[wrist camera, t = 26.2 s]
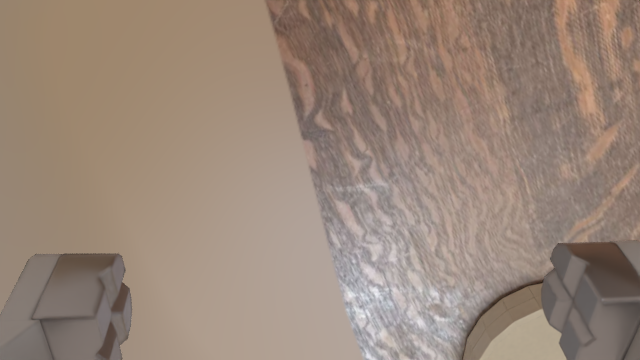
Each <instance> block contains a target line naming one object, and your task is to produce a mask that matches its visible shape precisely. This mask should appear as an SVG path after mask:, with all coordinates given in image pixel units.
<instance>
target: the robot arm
mask: <svg viewBox="0 0 640 360" xmlns="http://www.w3.org/2000/svg"><path fill="white" fill-rule="evenodd" d="M550 260H551V262H552V264H553V265H554V267H555V268H554V269H553V270H552V271H551V272H550V273H548V274H547V275H546V276H545V277H544V281H543V284H542V288H541V304H542V308H543V311H544V315H545V317H546V319H547V321H548V323H549V325H550V326H552V327H553V328H555V329H556V330H557V331H559V332H560V333H562V335H561V338H560V340H559V345H560V347H561V349H562V351H563V353H564V355H565V357H566V359H567V360H640V242H638V241H637V240H626V241H610V242H585V243H558V244H557V246H556V247H555V248H554V249H553V252H552V255H551V258H550ZM124 273H125V267H124V262H123V258H122V256H121V255H119V254H35V255H34V256H32V257H31V258H30V259H29V260H28V261H27V263H26V265H25V268H24V269H23V271H22V273H21V275H20V277H19V279H18V282H17V283H16V285H15V287H14V289H13V291H12V293H11V295H10V297H9V299H8V300H7V303H6V305H5V306H4V309H3V310H2V312H1V314H0V360H122V354H121V350H120V345H121V344H122V343H123V342H124V341H125V340H127V339H128V335H129V331H130V327H131V316H132V302H131V294H130V289H129V288H128V287H127V286H126V285H125V284H124V283H123V282H122V280H123V277H124Z"/></svg>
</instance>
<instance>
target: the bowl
mask: <svg viewBox="0 0 640 360" xmlns="http://www.w3.org/2000/svg"><path fill="white" fill-rule="evenodd" d="M542 284H543V283H541V284H536V285H531V286H528V287H525V288H523V289H521V290H519V291H517V292H515V293H513V294H510V295H508V296H506V297H504V298H502V299H501V300H500V301H499V302H497V303H496V304H495V305H494V306H493V307H492V308H491V309H489V310H488V311H487V312H486V313H485V314H484V315H483V316H482V317H481V318H480V319H479V321H478V322H477V324H476V326H475V327H474V329H473V330H472V332H471V334H470V335H469V337H468V339H467V344H466V348H465V353H464V357H463V360H567V359H566V357H565V355H564V353H563V351H562V349H561V347H560V345H559V340H560V338H561V335H562V333H560V332H559V331H557V330H556V329H555V328H553V327H552V326H550V325H549V323H548V321H547V319H546V317H545V315H544V311H543V308H542V304H541V288H542Z"/></svg>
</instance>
